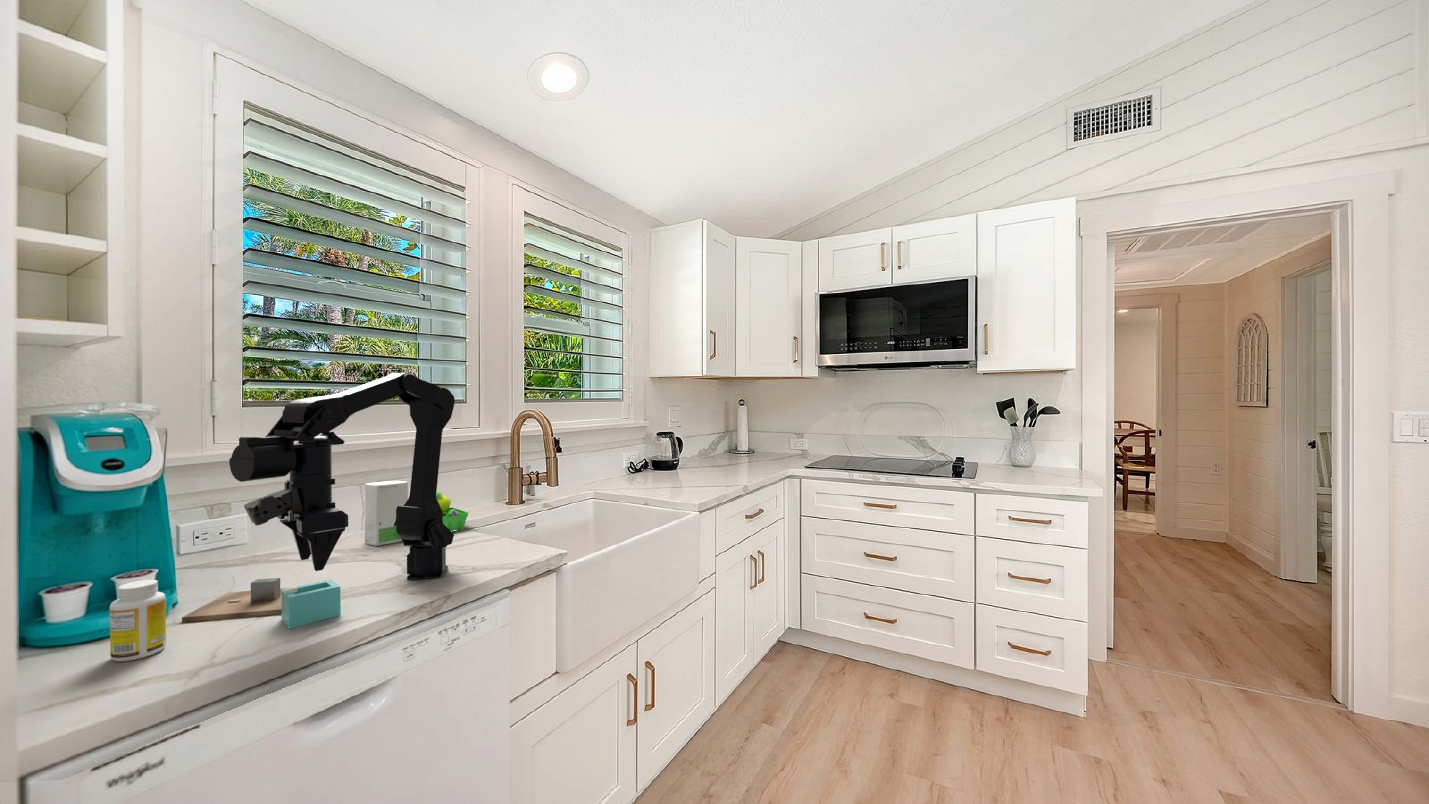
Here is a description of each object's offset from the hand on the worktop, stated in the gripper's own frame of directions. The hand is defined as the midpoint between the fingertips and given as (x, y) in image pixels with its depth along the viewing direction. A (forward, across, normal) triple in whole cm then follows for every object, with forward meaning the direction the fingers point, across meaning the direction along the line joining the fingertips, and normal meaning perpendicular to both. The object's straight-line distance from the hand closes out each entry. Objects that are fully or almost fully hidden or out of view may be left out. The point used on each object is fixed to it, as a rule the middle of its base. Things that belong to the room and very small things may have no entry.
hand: (311, 564), depth 91 cm
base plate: (+9, -14, -4) cm, 17 cm away
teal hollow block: (+9, 0, 0) cm, 9 cm away
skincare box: (+9, -45, +26) cm, 53 cm away
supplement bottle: (+9, -3, -20) cm, 22 cm away
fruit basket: (+9, -47, +41) cm, 63 cm away
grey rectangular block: (+9, -14, -4) cm, 17 cm away
